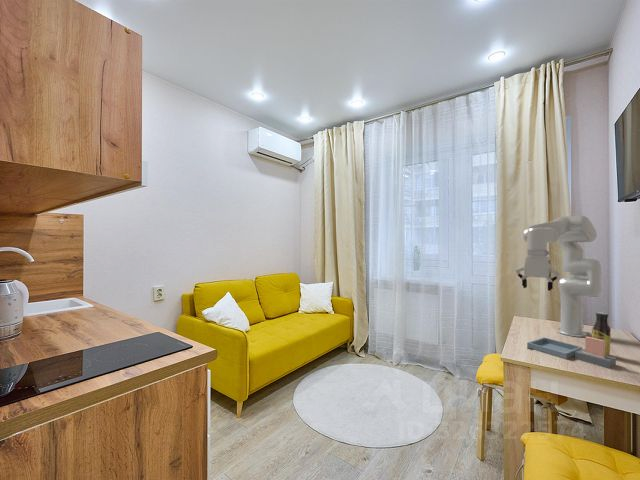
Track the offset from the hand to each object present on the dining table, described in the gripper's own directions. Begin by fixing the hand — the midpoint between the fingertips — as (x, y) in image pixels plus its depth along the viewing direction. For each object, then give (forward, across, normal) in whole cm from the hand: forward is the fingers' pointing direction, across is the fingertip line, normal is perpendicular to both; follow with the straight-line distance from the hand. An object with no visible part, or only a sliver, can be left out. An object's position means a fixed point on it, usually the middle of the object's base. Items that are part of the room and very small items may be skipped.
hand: (537, 289), depth 140 cm
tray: (+30, -6, -5) cm, 31 cm away
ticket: (+29, -20, -2) cm, 35 cm away
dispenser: (+30, -20, -2) cm, 36 cm away
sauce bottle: (+30, -21, -14) cm, 39 cm away
